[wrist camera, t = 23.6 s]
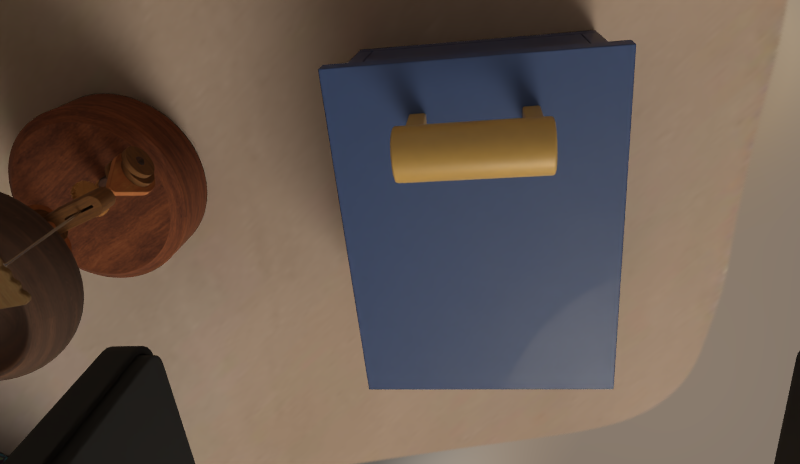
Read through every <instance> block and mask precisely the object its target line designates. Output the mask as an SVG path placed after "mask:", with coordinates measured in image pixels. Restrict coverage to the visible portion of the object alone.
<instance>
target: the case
mask: <svg viewBox="0 0 800 464" xmlns="http://www.w3.org/2000/svg"><path fill="white" fill-rule="evenodd" d="M600 42H608V41H607V40H606V39H605V38H603V37H602V36H601V35H600V34H599V33H598V32H597V31H595V30H590V31H578V32H566V33H554V34H542V35H530V36H518V37H506V38H494V39H482V40H470V41H459V42H447V43H435V44H423V45H411V46H399V47H387V48H375V49H363V50H360V51H359V52H358V53H357V54H356V55H355V56H354V57H353V58H352V59H351V60H350V61H349V62H348V63H352V62H365V61H377V60H389V59H402V58H414V57H426V56H439V55H451V54H464V53H476V52H488V51H501V50H513V49H525V48H538V47H550V46H562V45H575V44H587V43H600Z"/></svg>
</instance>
